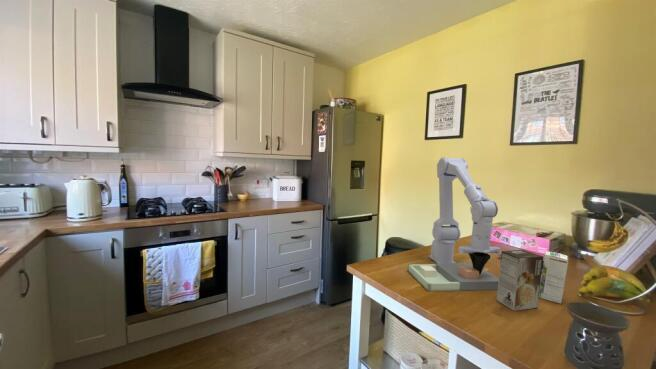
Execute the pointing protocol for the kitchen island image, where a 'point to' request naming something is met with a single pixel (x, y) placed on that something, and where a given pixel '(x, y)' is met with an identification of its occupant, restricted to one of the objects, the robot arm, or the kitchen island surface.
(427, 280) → the tray
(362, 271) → the kitchen island surface
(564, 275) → the syrup box
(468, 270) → the peach square block
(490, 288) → the slate board
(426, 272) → the tile
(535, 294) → the coffee box
